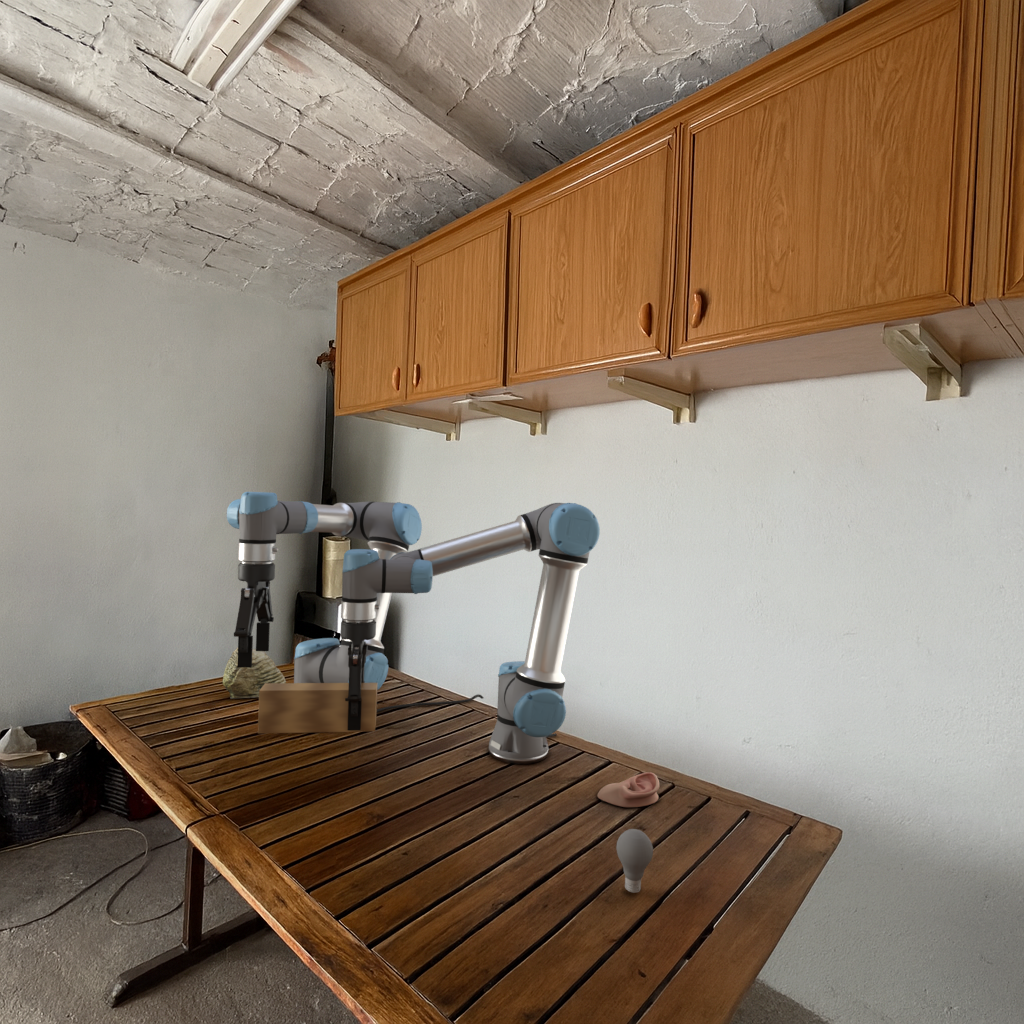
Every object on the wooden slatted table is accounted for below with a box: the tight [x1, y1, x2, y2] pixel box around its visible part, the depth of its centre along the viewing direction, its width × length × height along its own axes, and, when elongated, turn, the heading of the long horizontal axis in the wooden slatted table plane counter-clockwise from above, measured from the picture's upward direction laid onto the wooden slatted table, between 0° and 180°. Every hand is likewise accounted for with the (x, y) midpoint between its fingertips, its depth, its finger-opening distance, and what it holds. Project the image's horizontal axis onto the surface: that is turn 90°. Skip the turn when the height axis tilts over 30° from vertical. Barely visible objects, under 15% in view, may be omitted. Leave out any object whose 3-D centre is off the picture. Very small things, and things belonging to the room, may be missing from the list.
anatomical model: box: [596, 771, 660, 808], centre depth 140 cm, size 13×4×12 cm
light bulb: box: [615, 828, 654, 894], centre depth 106 cm, size 6×6×10 cm
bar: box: [257, 682, 378, 734], centre depth 138 cm, size 24×5×9 cm, turn 99°
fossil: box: [222, 647, 287, 699], centre depth 198 cm, size 9×18×15 cm, turn 132°
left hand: (253, 658), depth 139 cm, fingers open, 13 cm apart
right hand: (355, 724), depth 140 cm, fingers closed on bar, 5 cm apart
